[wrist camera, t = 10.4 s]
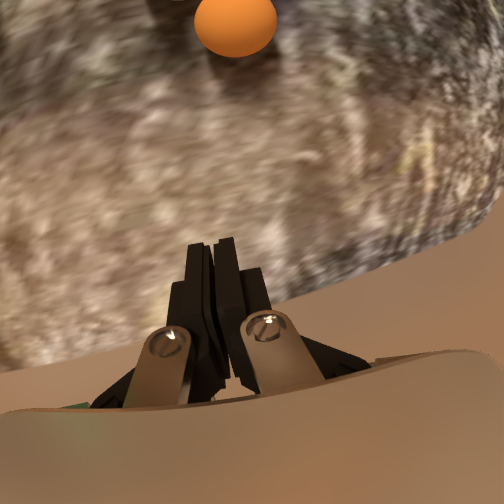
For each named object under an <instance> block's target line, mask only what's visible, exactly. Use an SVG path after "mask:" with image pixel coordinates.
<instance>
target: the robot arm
mask: <svg viewBox="0 0 504 504" xmlns="http://www.w3.org/2000/svg"><path fill="white" fill-rule="evenodd" d="M228 354H229V356H228ZM229 357H230V361H231V365H232V368H233V372H234V375H235V377H239V378H240V381H241V385H243V386H245V387H246V388H248V389H250V390H252V391H254V393H255V395H250V396H244V397H237V398H231V399H224V400H217V401H215V397H214V395H215V394H216V393H217V392H218V391H219V390H220V389H225V388H226V385H225V379H229V378H230V377H231V376H230V366H229ZM0 504H504V366H503V365H502V364H500V363H499V362H498V361H497V360H496V359H495V358H493V357H491V356H490V355H489V354H486V353H484V352H481V351H476V350H467V349H459V350H458V349H457V350H456V349H455V350H442V351H434V352H427V353H419V354H412V355H405V356H396V357H387V358H377V359H375V362H372V363H367V362H366V361H365V360H363V359H361V358H359V357H357V356H354V355H351V354H348V353H345V352H343V351H340V350H338V349H335V348H332V347H330V346H327V345H324V344H321V343H319V342H316V341H314V340H311V339H309V338H306V337H304V336H301V335H299V334H298V332H297V330H296V329H295V327H294V325H293V324H292V322H291V320H290V319H289V318H288V316H287V315H285V314H283V313H281V312H278V311H275V310H272V308H271V304H270V301H269V297H268V293H267V290H266V286H265V283H264V279H263V275H262V272H261V268H260V267H258V268H252V269H247V270H241V271H239V266H238V260H237V255H236V249H235V244H234V239H233V237H229V238H224V239H219V243H218V244H214V263H213V258H212V254H211V250H210V246H209V245H207V246H204V244H203V242H202V243H196V244H191V245H188V250H187V259H186V269H185V279H184V281H178V282H173V283H172V287H171V293H170V300H169V308H168V315H167V323H166V327H163V328H160V329H158V330H156V331H154V332H153V333H152V334H151V335H150V336H149V337H148V338H147V339H146V341H145V343H144V345H143V348H142V351H141V354H140V357H139V359H138V362H137V365H136V367H135V368H134V369H132V370H131V371H130V372H128V373H127V374H126V375H125V376H124V377H122V378H121V379H120V380H119V381H117V382H116V383H115V384H114V385H112V386H111V387H110V388H108V389H107V390H106V391H105V392H103V393H102V394H101V395H100V396H98V397H97V398H96V399H95V400H94V402H93V403H92V405H90V404H89V403H88V402H85V403H81V404H76V405H72V406H67V407H62V408H32V409H21V410H14V411H9V412H6V413H4V414H0Z"/></svg>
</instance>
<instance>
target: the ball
mask: <svg viewBox="0 0 504 504" xmlns="http://www.w3.org/2000/svg"><path fill="white" fill-rule="evenodd" d="M194 25H195V30H196V33H197V36H198V38H199V39H200V41H201V42H202V43H203V45H204V46H206V47H207V48H208V49H209V50H211V51H212V52H214V53H216V54H219V55H222V56H226V57H244V56H248V55H251V54H253V53H256V52H258V51H259V50H261V49H262V48H263V47H265V46H266V45H267V44H268V43H269V42H270V40H271V39H272V37H273V35H274V33H275V30H276V26H277V15H276V11H275V9H274V7H273V5H272V3H271V2H270V0H203V1H202V2H201V3H200V5H199V7H198V9H197V11H196V14H195V21H194Z"/></svg>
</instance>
